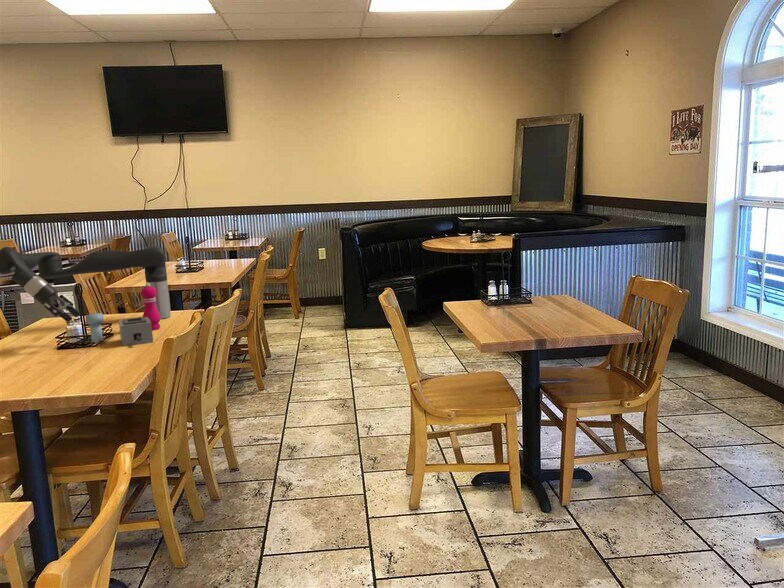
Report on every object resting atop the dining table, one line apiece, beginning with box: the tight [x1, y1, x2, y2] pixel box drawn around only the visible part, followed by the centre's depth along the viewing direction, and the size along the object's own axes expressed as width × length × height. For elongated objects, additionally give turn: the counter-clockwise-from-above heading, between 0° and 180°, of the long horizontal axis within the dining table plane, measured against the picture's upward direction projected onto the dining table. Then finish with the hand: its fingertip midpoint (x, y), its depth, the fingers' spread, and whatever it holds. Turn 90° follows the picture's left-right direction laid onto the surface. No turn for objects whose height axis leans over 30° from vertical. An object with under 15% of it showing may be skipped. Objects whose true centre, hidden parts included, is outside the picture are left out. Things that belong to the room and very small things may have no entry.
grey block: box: [118, 316, 154, 347], centre depth 250 cm, size 11×11×9 cm
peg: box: [84, 312, 105, 343], centre depth 249 cm, size 6×6×11 cm
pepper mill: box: [140, 283, 161, 331], centre depth 268 cm, size 7×7×20 cm
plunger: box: [134, 333, 141, 341], centre depth 245 cm, size 8×2×2 cm, turn 27°
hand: (74, 318), depth 246 cm, fingers open, 8 cm apart
